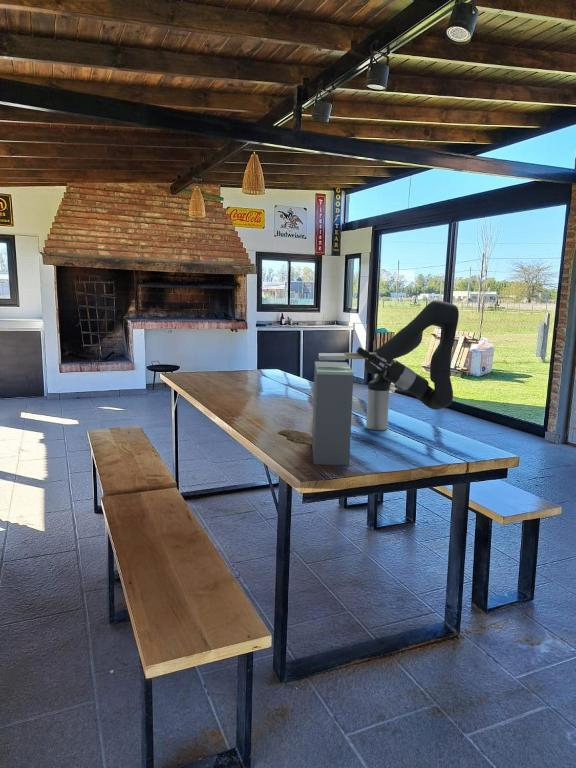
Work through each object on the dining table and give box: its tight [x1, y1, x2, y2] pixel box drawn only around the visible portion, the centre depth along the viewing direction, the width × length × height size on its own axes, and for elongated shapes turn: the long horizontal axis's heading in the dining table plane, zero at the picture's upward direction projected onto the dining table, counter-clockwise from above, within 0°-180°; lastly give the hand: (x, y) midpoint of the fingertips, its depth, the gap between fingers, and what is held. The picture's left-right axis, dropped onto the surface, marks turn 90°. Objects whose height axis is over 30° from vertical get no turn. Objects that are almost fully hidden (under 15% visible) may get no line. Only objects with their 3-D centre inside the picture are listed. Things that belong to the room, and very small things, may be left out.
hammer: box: [317, 352, 377, 361], centre depth 191 cm, size 8×20×2 cm, turn 89°
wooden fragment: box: [277, 428, 312, 446], centre depth 219 cm, size 26×11×1 cm, turn 24°
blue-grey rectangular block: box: [311, 361, 354, 466], centre depth 196 cm, size 26×12×32 cm, turn 179°
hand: (358, 349), depth 190 cm, fingers closed on hammer, 2 cm apart
